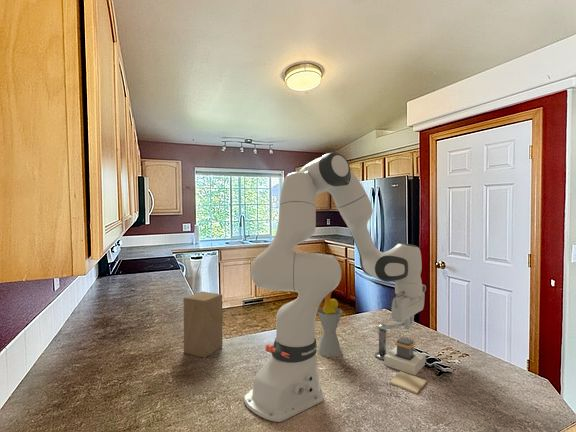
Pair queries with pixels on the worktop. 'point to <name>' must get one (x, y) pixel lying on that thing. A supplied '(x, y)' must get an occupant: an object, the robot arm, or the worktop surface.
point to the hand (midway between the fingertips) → (408, 328)
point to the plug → (405, 348)
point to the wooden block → (202, 324)
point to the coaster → (408, 382)
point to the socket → (405, 362)
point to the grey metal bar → (391, 325)
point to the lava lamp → (329, 327)
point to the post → (381, 345)
